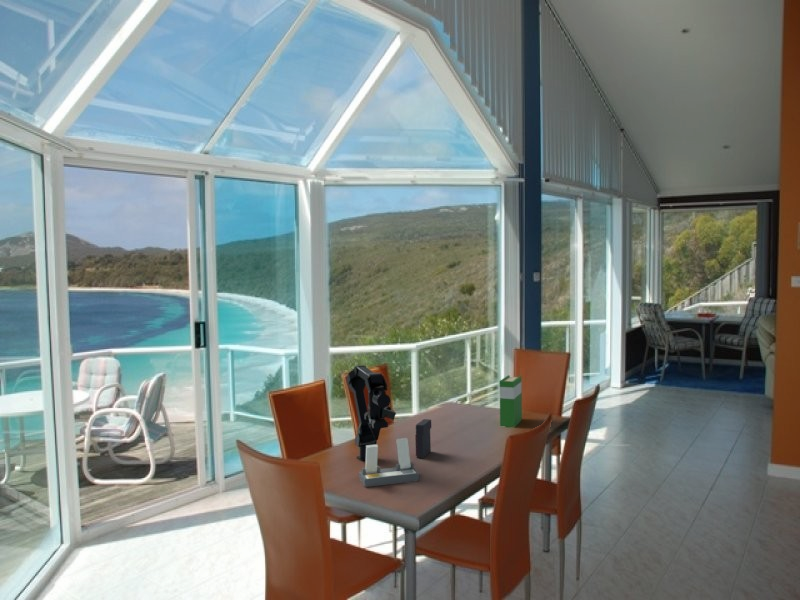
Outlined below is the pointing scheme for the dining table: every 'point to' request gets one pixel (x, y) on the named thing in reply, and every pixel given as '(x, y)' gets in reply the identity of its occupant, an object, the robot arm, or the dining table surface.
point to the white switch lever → (371, 458)
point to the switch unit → (388, 476)
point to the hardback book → (510, 401)
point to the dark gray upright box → (423, 438)
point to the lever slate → (403, 453)
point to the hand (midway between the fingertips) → (376, 439)
